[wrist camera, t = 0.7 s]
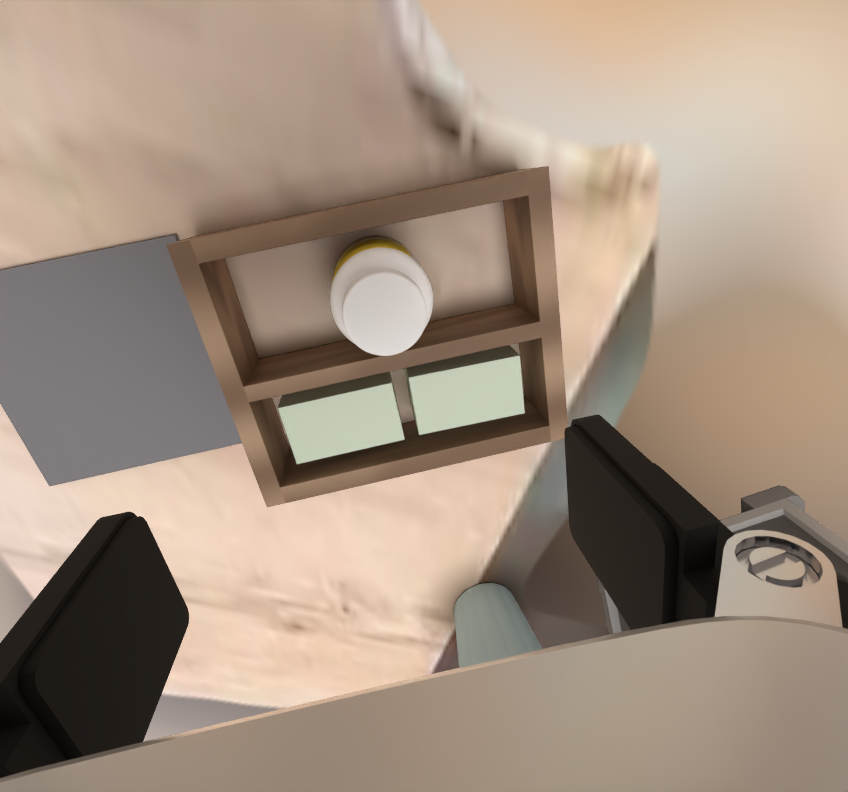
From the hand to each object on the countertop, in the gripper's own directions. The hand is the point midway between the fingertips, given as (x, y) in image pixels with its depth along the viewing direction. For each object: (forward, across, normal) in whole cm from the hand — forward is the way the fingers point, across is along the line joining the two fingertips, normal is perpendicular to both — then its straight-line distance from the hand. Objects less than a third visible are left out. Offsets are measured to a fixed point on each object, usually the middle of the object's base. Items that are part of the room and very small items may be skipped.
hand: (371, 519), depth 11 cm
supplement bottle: (+23, -1, -1) cm, 23 cm away
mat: (+23, +17, +1) cm, 29 cm away
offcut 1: (+23, +2, +6) cm, 24 cm away
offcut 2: (+23, -6, +6) cm, 25 cm away
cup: (+24, -5, +29) cm, 37 cm away
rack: (+23, -1, +3) cm, 23 cm away
